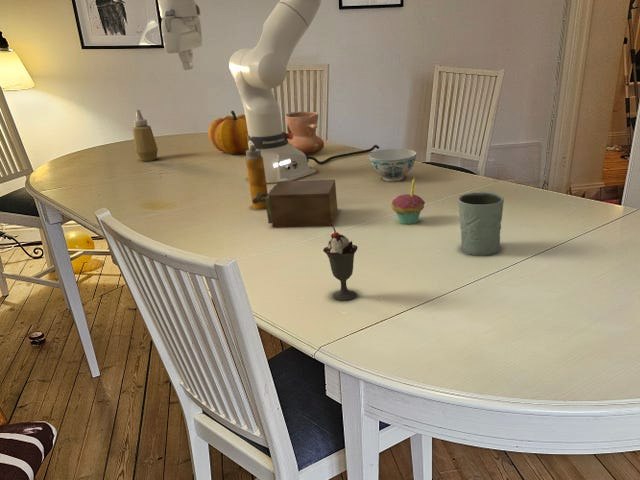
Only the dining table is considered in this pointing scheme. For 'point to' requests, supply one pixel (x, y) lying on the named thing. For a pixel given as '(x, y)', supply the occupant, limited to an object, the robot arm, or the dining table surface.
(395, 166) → the chinaware
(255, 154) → the pepper mill
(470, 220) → the green embossed cup
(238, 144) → the decorative pumpkin
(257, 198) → the drawer
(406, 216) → the cupcake
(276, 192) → the cabinet
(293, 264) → the dining table surface
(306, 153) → the ceramic jug
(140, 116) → the squeeze bottle
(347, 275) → the sundae
